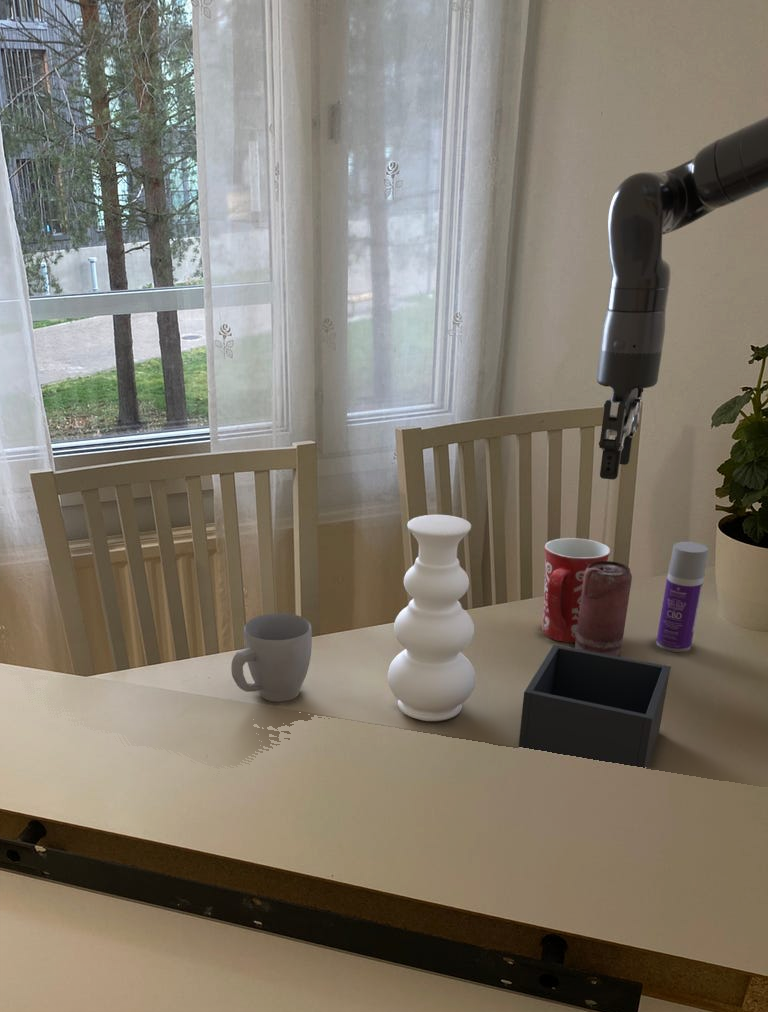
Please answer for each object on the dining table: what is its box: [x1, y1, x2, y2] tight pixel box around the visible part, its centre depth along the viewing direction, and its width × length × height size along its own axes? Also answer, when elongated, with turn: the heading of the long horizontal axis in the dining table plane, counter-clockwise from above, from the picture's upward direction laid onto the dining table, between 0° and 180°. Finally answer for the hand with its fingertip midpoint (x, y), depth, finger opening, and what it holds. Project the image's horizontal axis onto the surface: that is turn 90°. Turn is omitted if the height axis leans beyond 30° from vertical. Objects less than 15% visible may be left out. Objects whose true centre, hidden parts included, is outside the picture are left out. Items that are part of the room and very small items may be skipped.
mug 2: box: [542, 537, 611, 643], centre depth 132 cm, size 13×9×14 cm
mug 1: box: [230, 612, 313, 703], centre depth 118 cm, size 12×9×10 cm
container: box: [656, 541, 709, 653], centre depth 129 cm, size 5×5×15 cm
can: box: [574, 560, 633, 657], centre depth 125 cm, size 6×6×14 cm
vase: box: [387, 514, 476, 722], centre depth 111 cm, size 11×11×25 cm
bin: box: [518, 644, 672, 769], centre depth 106 cm, size 14×14×9 cm
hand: (614, 470), depth 124 cm, fingers open, 8 cm apart
